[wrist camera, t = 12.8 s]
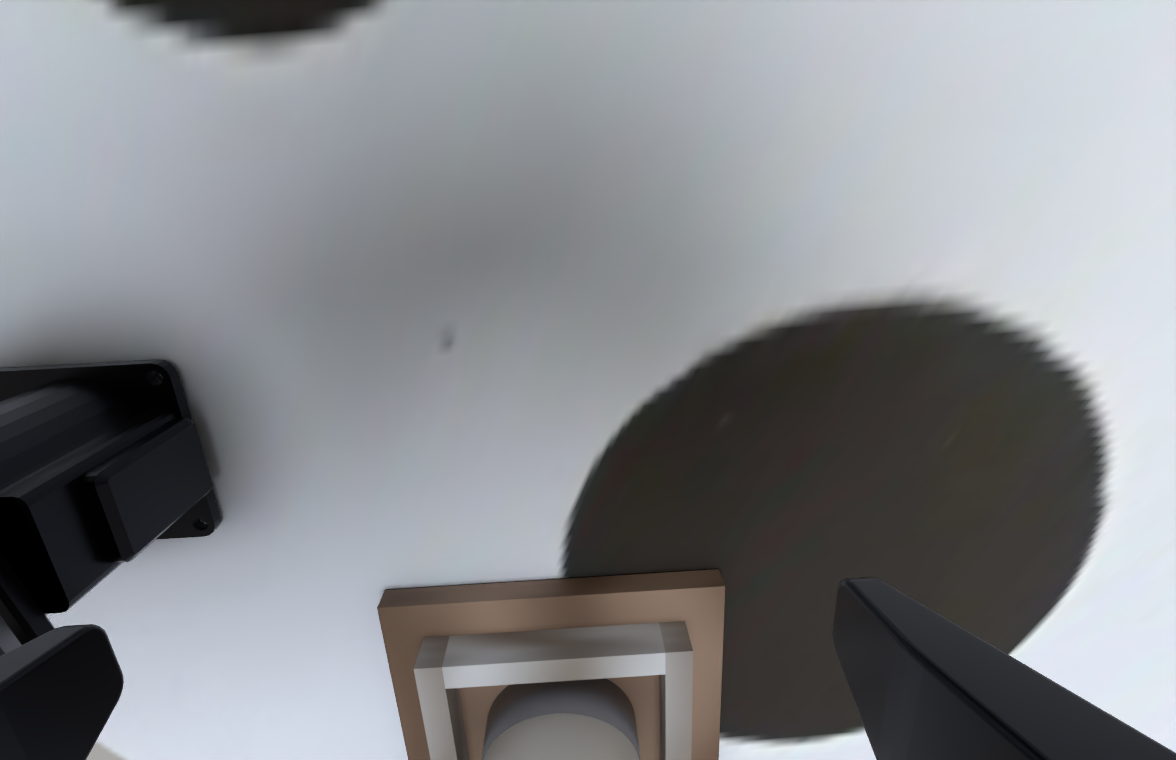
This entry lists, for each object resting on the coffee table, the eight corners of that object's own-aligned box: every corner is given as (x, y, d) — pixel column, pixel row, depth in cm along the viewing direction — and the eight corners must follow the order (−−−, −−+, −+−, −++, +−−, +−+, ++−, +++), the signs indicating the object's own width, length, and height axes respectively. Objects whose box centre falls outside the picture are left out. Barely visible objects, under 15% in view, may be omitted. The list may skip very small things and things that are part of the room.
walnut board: (430, 821, 27) (417, 883, 24) (385, 589, 22) (364, 638, 20) (710, 801, 27) (724, 861, 25) (718, 569, 23) (736, 614, 20)
